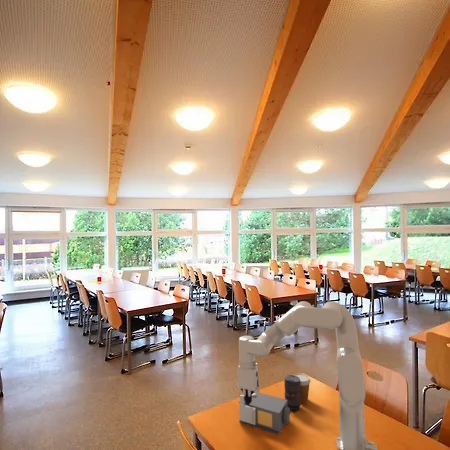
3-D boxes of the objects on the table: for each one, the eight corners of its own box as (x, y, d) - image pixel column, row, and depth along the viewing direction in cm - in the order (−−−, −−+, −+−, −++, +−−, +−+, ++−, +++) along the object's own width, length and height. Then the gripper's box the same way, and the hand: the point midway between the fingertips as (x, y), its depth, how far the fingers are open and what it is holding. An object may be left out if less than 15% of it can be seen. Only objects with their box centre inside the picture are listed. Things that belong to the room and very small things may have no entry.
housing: (291, 419, 146) (290, 399, 146) (282, 436, 134) (281, 413, 134) (249, 407, 156) (249, 388, 156) (238, 422, 145) (238, 401, 145)
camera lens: (301, 413, 151) (300, 382, 151) (284, 411, 152) (284, 381, 152) (300, 404, 159) (300, 375, 159) (284, 402, 160) (284, 373, 160)
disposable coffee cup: (288, 397, 165) (288, 375, 165) (302, 393, 169) (302, 371, 169) (300, 407, 156) (299, 383, 156) (314, 402, 160) (314, 379, 160)
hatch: (255, 423, 141) (255, 398, 141) (254, 425, 140) (254, 399, 140) (240, 418, 145) (239, 394, 145) (239, 420, 144) (238, 395, 144)
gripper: (265, 363, 143) (266, 403, 142) (236, 357, 150) (237, 395, 149) (258, 370, 136) (260, 411, 136) (229, 363, 143) (230, 403, 143)
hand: (248, 403), depth 142 cm, fingers closed
